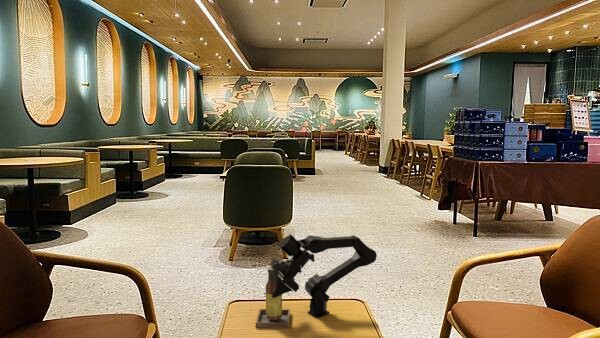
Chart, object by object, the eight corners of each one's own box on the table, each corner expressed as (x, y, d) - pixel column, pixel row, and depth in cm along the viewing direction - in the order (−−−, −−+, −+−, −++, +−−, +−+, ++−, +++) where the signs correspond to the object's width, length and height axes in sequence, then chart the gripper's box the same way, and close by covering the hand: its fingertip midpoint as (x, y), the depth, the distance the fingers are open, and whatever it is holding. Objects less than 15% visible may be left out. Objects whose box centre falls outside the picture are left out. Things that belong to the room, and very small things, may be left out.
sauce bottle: (284, 319, 175) (284, 269, 172) (270, 322, 172) (269, 272, 169) (277, 312, 180) (277, 264, 178) (263, 315, 177) (262, 267, 175)
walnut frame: (259, 313, 182) (259, 309, 182) (290, 313, 182) (290, 309, 182) (255, 327, 170) (255, 322, 170) (288, 328, 170) (288, 323, 170)
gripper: (275, 244, 183) (249, 274, 180) (290, 257, 166) (262, 291, 163) (293, 260, 187) (268, 290, 184) (310, 275, 169) (283, 308, 167)
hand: (270, 294), depth 174 cm, fingers closed on sauce bottle, 6 cm apart
